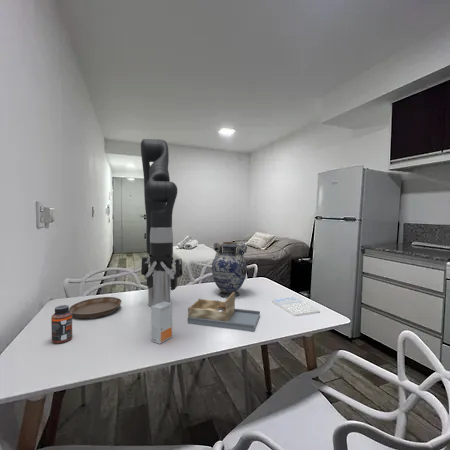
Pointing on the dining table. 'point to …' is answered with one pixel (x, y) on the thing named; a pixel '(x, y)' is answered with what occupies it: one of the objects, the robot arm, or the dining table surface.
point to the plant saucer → (95, 307)
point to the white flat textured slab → (295, 306)
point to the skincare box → (161, 322)
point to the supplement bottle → (61, 324)
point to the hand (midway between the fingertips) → (161, 288)
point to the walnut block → (222, 306)
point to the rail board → (232, 320)
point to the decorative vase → (229, 267)
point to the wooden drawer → (212, 309)
